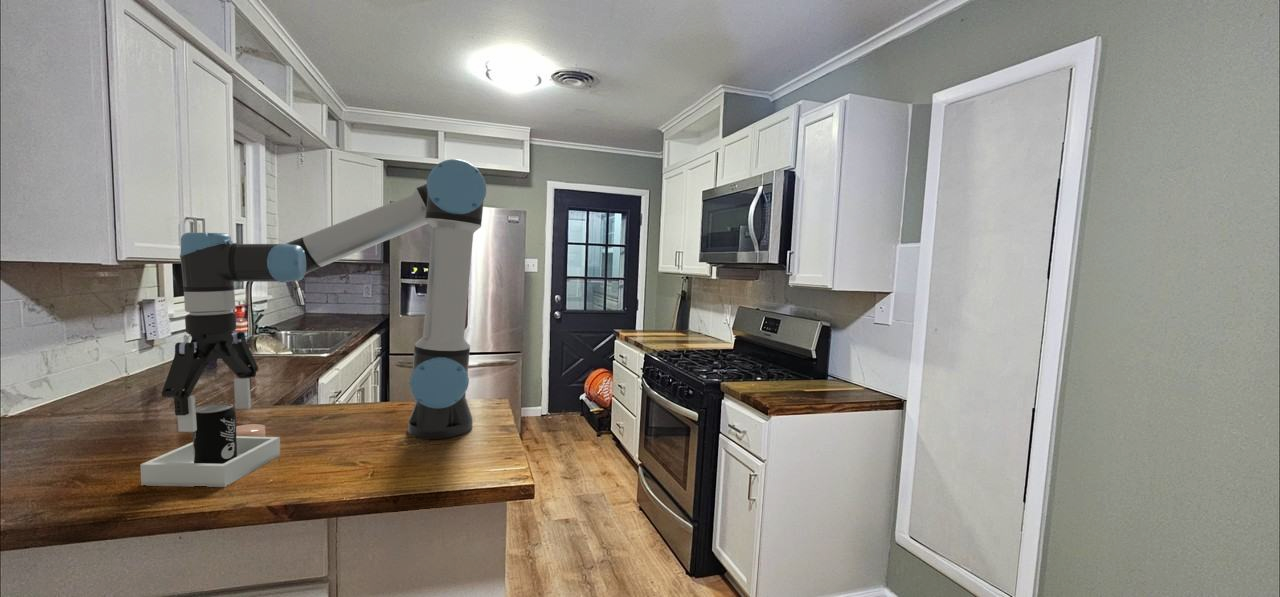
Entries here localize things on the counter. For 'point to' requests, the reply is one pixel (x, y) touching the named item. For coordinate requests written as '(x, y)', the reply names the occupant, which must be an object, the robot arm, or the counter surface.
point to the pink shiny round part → (251, 430)
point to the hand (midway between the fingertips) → (217, 419)
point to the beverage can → (215, 434)
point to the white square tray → (184, 472)
